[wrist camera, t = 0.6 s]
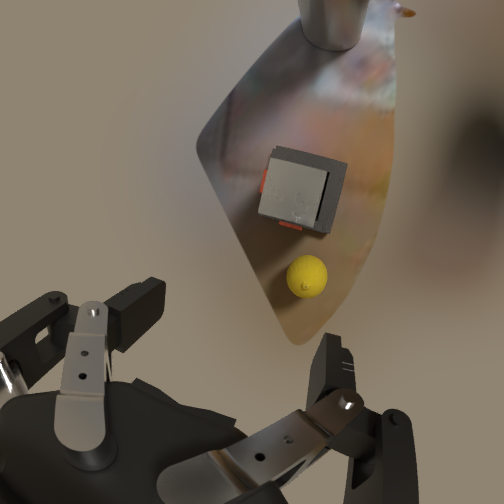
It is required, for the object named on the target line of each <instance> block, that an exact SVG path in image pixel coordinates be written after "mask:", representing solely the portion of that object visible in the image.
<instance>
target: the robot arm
mask: <svg viewBox="0 0 504 504" xmlns="http://www.w3.org/2000/svg"><path fill="white" fill-rule="evenodd" d="M368 4H369V0H298V5H299V11H300V18H301V24H302V30H303V33H304V35H305V37H306V38H307V39H308V40H309V41H310V42H311V43H312V44H314V45H315V46H317V47H319V48H321V49H325V50H329V51H343V50H347V49H350V48H352V47H353V46H355V45H356V44H357V43H358V41H359V39H360V36H361V32H362V28H363V25H364V20H365V16H366V12H367V8H368ZM165 292H166V283H165V282H164V281H162V280H159V279H157V278H154V277H150V278H148V279H147V280H145V281H144V282H142V283H141V282H139V283H135V284H132V285H130V286H128V287H127V288H125V289H124V290H122V291H120V292H119V293H117V294H116V295H114V296H113V297H111V298H110V299H108V300H106V301H105V302H104V303H101V302H98V301H89V302H86V303H84V304H82V305H81V306H80V307H78V306H74V305H70V304H68V299H67V295H66V294H64V293H63V292H59V291H52V292H48V293H46V294H44V295H43V296H41V297H39V298H38V299H36V300H34V301H33V302H31V303H30V304H28V305H27V306H25V307H23V308H21V309H20V310H18V311H17V312H15V313H13V314H12V315H10V316H9V317H7V318H6V319H4V320H3V321H1V322H0V504H288V502H287V501H286V499H285V497H284V496H283V494H282V492H281V489H282V488H283V487H285V486H286V485H288V484H289V483H290V482H292V481H293V480H294V479H295V478H297V477H298V476H299V475H300V474H301V473H302V472H303V471H305V470H306V469H307V468H309V467H310V466H311V465H313V464H314V463H315V462H316V461H318V460H319V459H320V458H321V457H322V456H324V455H325V454H326V453H327V452H328V451H330V450H331V449H333V450H335V451H338V452H340V453H342V454H344V455H346V456H349V462H348V472H347V480H346V488H345V496H344V502H343V504H419V492H418V476H417V463H416V453H415V445H414V437H413V430H412V423H411V420H410V418H409V417H408V416H407V415H406V414H405V413H404V412H402V411H400V410H397V409H388V410H386V411H385V412H384V413H383V414H382V415H381V414H378V413H376V412H374V411H371V410H369V409H367V408H366V407H364V400H363V398H362V397H361V396H360V395H359V394H358V393H357V392H356V382H355V372H354V366H353V365H354V362H353V356H352V354H351V353H350V351H349V350H348V349H346V348H342V347H341V337H340V336H337V335H334V334H330V333H325V334H324V336H323V338H322V340H321V343H320V345H319V347H318V350H317V352H316V354H315V356H314V359H313V362H312V365H311V369H310V379H309V387H308V395H307V403H306V411H304V412H303V411H302V410H301V409H298V410H296V411H294V412H292V413H290V414H289V415H287V416H285V417H284V418H282V419H280V420H278V421H277V422H275V423H274V424H271V425H270V426H268V427H266V428H264V429H262V430H261V431H259V432H257V433H255V434H253V435H251V436H249V437H248V436H247V435H246V434H244V433H243V432H242V431H240V430H239V429H237V428H236V427H234V425H235V422H236V419H234V418H231V417H228V416H225V415H222V414H219V413H216V412H214V411H211V410H206V409H200V408H195V407H190V406H185V405H181V404H179V403H177V402H176V401H175V400H173V399H172V398H171V397H169V396H168V395H166V394H165V393H164V392H162V391H161V390H160V389H158V388H156V387H154V386H152V385H150V384H148V383H146V382H144V381H142V380H140V379H138V378H136V379H135V380H134V381H133V382H132V383H126V382H118V381H113V365H112V351H113V350H114V349H116V350H118V351H120V352H122V353H124V352H125V351H126V350H127V349H128V348H130V347H131V345H133V344H134V343H135V342H136V341H137V340H138V339H139V338H140V337H141V336H142V335H143V334H144V333H145V332H146V331H148V330H149V329H150V328H151V327H152V326H153V325H154V324H155V323H156V322H157V321H158V320H159V319H160V318H161V316H162V314H163V312H164V305H165ZM46 327H47V329H48V333H49V334H48V335H47V336H46V337H45V338H43V339H42V340H41V341H39V342H38V343H37V344H36V343H35V338H36V335H37V334H38V333H39V332H40V331H42V330H43V329H44V328H46ZM64 357H65V359H64V366H63V373H62V380H61V389H60V390H57V391H50V392H43V393H35V394H27V393H28V390H29V389H30V388H31V387H32V386H33V385H34V384H35V383H36V382H37V381H39V380H40V379H41V377H43V376H44V375H45V374H46V373H47V372H48V371H49V370H51V369H52V368H53V367H54V366H55V365H56V364H57V363H58V362H59V361H60V360H62V359H63V358H64Z"/></svg>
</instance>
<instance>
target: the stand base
mask: <svg viewBox="0 0 504 504" xmlns="http://www.w3.org/2000/svg"><path fill="white" fill-rule="evenodd" d="M271 158H275V159H279V160H284V161H288V162H292V163H296V164H300V165H304V166H308V167H312V168H316V169H320V170H323V171H327V175H326V179H325V183H324V187H323V191H322V195H321V199H320V203H319V207H318V211H317V215H316V218H315V222H314V226H313V227H309V226H305V225H302V224H298V223H295V222H291V221H287V220H283V219H280V218H276V217H272V216H268V215H264V214H261V213H258V215H259V216H263V217H267V218H271V219H274V220H278V221H279V225H283V226H287V227H290V228H294V229H298V230H301V231H302V227H304V228H308V229H311V230H315V231H318V232H322V233H325V232H326V233H329V234H330V231H331V227H332V224H333V220H334V216H335V213H336V209H337V205H338V201H339V198H340V194H341V190H342V186H343V182H344V177H345V173H346V169H347V165H348V164H347V163H344V162H340V161H337V160H333V159H330V158H326V157H322V156H318V155H314V154H311V153H306V152H302V151H298V150H294V149H290V148H285V147H281V146H276V149H274V148H273V151H272V155H271ZM266 175H267V170H265V169H264V174H263V178H262V183H261V187H260V191H259V192H260V193H262V192H263V188H264V183H265V179H266Z"/></svg>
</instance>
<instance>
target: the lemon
mask: <svg viewBox="0 0 504 504" xmlns="http://www.w3.org/2000/svg"><path fill="white" fill-rule="evenodd" d="M287 283H288V286H289V288H290V290H291V291H292V292H293V293H294V294H295V295H296V296H298V297H301V298H312V297H315V296H317V295H318V294H320V293H321V292H322V290H323V289H324V287H325V285H326V283H327V270H326V267H325V265H324V264H323V262H322V261H321V260H320V259H318V258H317V257H314V256H311V255H304V256H300V257H298V258H297V259H295V260H294V261H293V262H292V263H291V264H290V266H289V268H288V271H287Z"/></svg>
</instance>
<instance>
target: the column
mask: <svg viewBox="0 0 504 504" xmlns="http://www.w3.org/2000/svg"><path fill="white" fill-rule="evenodd" d="M326 175H327V171H323V170H320V169H316V168H312V167H308V166H304V165H300V164H296V163H292V162H288V161H284V160H279V159H275V158H270V162H269V166H268V170H267V175H266V179H265V183H264V188H263V192H262V196H261V201H260V205H259V209H258V213H261V214H264V215H268V216H272V217H276V218H280V219H283V220H287V221H291V222H295V223H298V224H302V225H305V226H309V227H313V226H314V222H315V218H316V215H317V211H318V207H319V203H320V199H321V195H322V191H323V187H324V183H325V179H326Z"/></svg>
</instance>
